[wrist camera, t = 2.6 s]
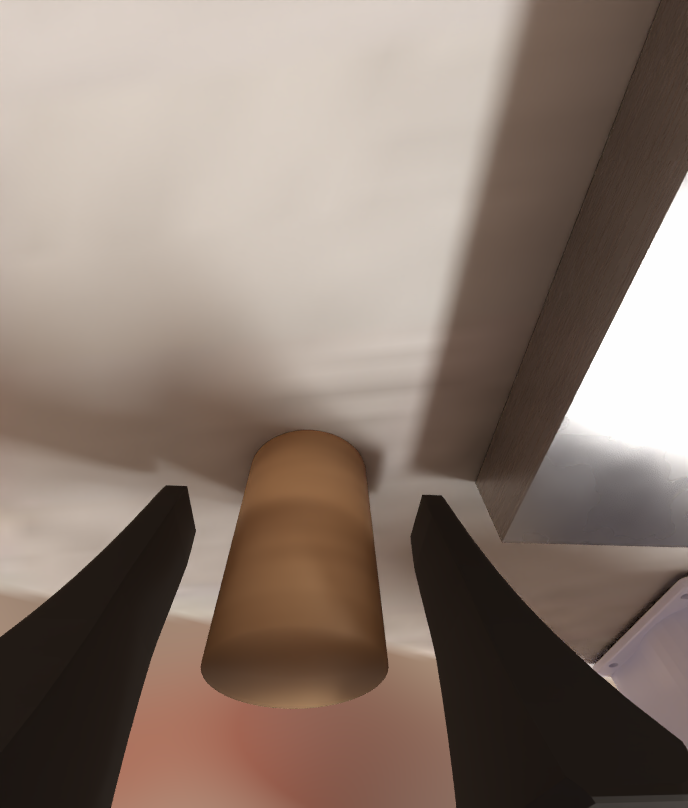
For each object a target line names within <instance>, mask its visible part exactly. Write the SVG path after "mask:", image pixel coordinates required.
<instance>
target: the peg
mask: <svg viewBox="0 0 688 808" xmlns="http://www.w3.org/2000/svg"><path fill="white" fill-rule="evenodd" d="M387 672H388V658H387V649H386V640H385V632H384V623H383V615H382V606H381V597H380V589H379V580H378V572H377V563H376V555H375V546H374V537H373V529H372V520H371V512H370V503H369V494H368V486H367V477H366V469H365V464H364V461H363V459H362V457H361V455H360V454H359V452H358V451H357V450H356V449H355V448H354V447H353V446H352V445H351V444H350V443H348V442H347V441H345V440H344V439H342V438H340V437H338V436H335V435H333V434H330V433H326V432H322V431H314V430H300V431H293V432H288V433H285V434H282V435H279V436H277V437H275V438H273V439H271V440H270V441H268V442H267V443H266V444H264V445H263V446H262V447H261V448H260V449H259V451H258V452H257V453H256V455H255V457H254V459H253V461H252V465H251V469H250V473H249V477H248V481H247V485H246V489H245V492H244V496H243V500H242V504H241V508H240V512H239V516H238V520H237V524H236V528H235V532H234V536H233V540H232V544H231V548H230V552H229V556H228V560H227V564H226V568H225V571H224V575H223V579H222V583H221V587H220V591H219V595H218V599H217V603H216V607H215V611H214V615H213V619H212V623H211V627H210V631H209V635H208V639H207V643H206V647H205V650H204V654H203V659H202V663H201V673H202V675H203V678H204V679H205V680H206V682H207V683H208V684H209V685H210V686H211V687H213V688H214V689H215V690H217V691H218V692H220V693H222V694H224V695H226V696H228V697H230V698H233V699H235V700H238V701H241V702H245V703H249V704H253V705H258V706H264V707H272V708H289V709H294V708H295V709H298V708H314V707H323V706H328V705H334V704H338V703H342V702H346V701H349V700H352V699H355V698H357V697H360V696H362V695H364V694H366V693H368V692H370V691H371V690H373V689H374V688H375V687H377V686H378V685H379V684H380V683H381V682H382V681H383V680H384V678H385V677H386V675H387Z"/></svg>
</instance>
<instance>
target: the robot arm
mask: <svg viewBox="0 0 688 808" xmlns="http://www.w3.org/2000/svg"><path fill="white" fill-rule="evenodd" d="M195 532H196V529H195V524H194V519H193V514H192V509H191V504H190V499H189V494H188V489H187V486H167V485H166V486H165V487H164V488H163V489H162V490H161V491H160V492H159V493H158V494H157V495H156V496H155V497H154V498H153V499H152V500H151V501H150V503H149V504H148V505H147V506H146V507H145V508H144V509H143V510H142V511H141V512H140V513H139V514H138V515H137V516H136V517H135V518H134V520H133V521H132V522H131V523H130V524H129V525H128V526H127V527H126V528H125V529H124V530H123V531H122V532H121V533H120V534H119V535H118V536H117V537H116V538H115V539H114V540H113V541H112V542H111V543H110V544H109V545H108V546H107V547H106V548H105V549H104V550H103V551H102V552H101V553H100V554H99V555H97V556H96V557H95V558H94V559H93V560H92V561H91V562H90V563H89V564H88V565H87V566H86V567H85V568H83V569H82V570H81V571H80V572H79V573H78V574H77V575H76V576H75V577H74V578H73V579H71V580H70V581H69V582H68V583H67V584H66V585H65V586H63V587H62V588H61V589H60V590H59V591H58V592H56V593H55V594H54V595H53V596H52V597H51V598H49V599H48V600H47V601H46V602H44V603H43V604H42V605H41V606H40V607H38V608H37V609H36V610H35V611H33V612H32V613H31V614H30V615H28V616H27V617H26V618H24V619H23V620H22V621H21V622H19V623H18V624H17V625H15V626H14V627H13V628H12V629H10V630H9V631H8V632H6V633H5V634H4V635H2V636H1V637H0V808H111V805H112V801H113V797H114V792H115V788H116V785H117V781H118V777H119V773H120V769H121V765H122V761H123V757H124V753H125V750H126V746H127V742H128V738H129V734H130V731H131V727H132V723H133V720H134V716H135V713H136V709H137V705H138V702H139V698H140V695H141V691H142V688H143V684H144V681H145V678H146V674H147V671H148V668H149V664H150V661H151V657H152V655H153V652H154V649H155V646H156V643H157V640H158V638H159V636H160V633H161V630H162V628H163V625H164V623H165V620H166V618H167V615H168V613H169V610H170V608H171V605H172V602H173V600H174V597H175V595H176V592H177V590H178V587H179V584H180V582H181V579H182V577H183V574H184V571H185V569H186V566H187V563H188V559H189V556H190V552H191V548H192V544H193V540H194V536H195ZM411 545H412V554H413V561H414V568H415V573H416V577H417V581H418V585H419V589H420V594H421V598H422V602H423V606H424V610H425V614H426V618H427V622H428V626H429V630H430V634H431V638H432V642H433V646H434V651H435V656H436V660H437V666H438V673H439V679H440V685H441V692H442V698H443V705H444V712H445V719H446V726H447V733H448V740H449V748H450V756H451V765H452V772H453V781H454V790H455V799H456V808H688V576H687V577H684V578H682V579H680V580H678V581H677V582H676V583H675V584H674V585H673V586H672V587H671V588H670V589H669V590H668V591H667V592H666V593H665V594H664V595H663V596H662V597H661V598H660V599H659V600H658V601H657V602H656V603H655V604H654V605H653V606H652V607H651V608H650V609H649V610H648V611H647V612H646V613H645V614H644V615H643V616H642V617H641V618H640V619H639V620H638V621H637V622H636V623H635V624H634V625H633V626H632V627H631V628H630V629H629V630H628V631H627V632H626V633H625V634H624V635H623V636H622V637H621V638H620V639H619V640H618V641H617V642H616V643H615V644H614V646H613V647H612V648H611V649H610V650H609V651H608V652H607V653H606V654H605V655H604V656H603V657H602V658H601V659H600V660H599V661H598V662H597V663H596V664H595V665H594V666H593V669H592V668H591V667H590V666H589V665H588V664H587V663H586V662H585V661H584V660H583V659H581V658H580V657H579V656H578V655H577V654H576V653H575V652H574V651H573V650H572V649H571V648H570V647H568V646H567V645H566V644H565V643H564V642H563V641H562V640H561V639H560V638H559V637H558V636H557V635H556V634H555V633H554V632H553V631H552V630H551V629H550V628H549V627H548V626H547V625H546V624H545V623H544V622H543V621H542V620H541V619H540V618H539V617H538V616H537V615H536V614H535V613H534V612H533V611H532V610H531V609H530V608H529V607H528V606H527V605H526V604H525V602H524V601H523V600H522V599H521V598H520V597H519V596H518V595H517V594H516V592H515V591H514V590H513V589H512V588H511V587H510V585H509V584H508V583H507V582H506V581H505V580H504V578H503V577H502V576H501V575H500V574H499V572H498V571H497V570H496V569H495V567H494V566H493V565H492V564H491V562H490V561H489V560H488V559H487V557H486V556H485V555H484V553H483V552H482V551H481V550H480V548H479V547H478V546H477V544H476V543H475V542H474V540H473V539H472V538H471V536H470V535H469V534H468V532H467V531H466V529H465V528H464V527H463V525H462V524H461V522H460V521H459V519H458V518H457V517H456V515H455V514H454V512H453V511H452V509H451V508H450V506H449V505H448V504H447V502H446V501H445V499H444V498H443V497H442V496H441V495H422V498H421V502H420V505H419V509H418V512H417V516H416V519H415V523H414V526H413V530H412V533H411ZM603 677H612V679H613V681H614V683H615V684H616V687H617V688H618V690H619V691H618V690H617V689H616V688H614V687H613V686H612V685H611V684H610V683H609V682H607V681H606V680H605V679H604V678H603Z"/></svg>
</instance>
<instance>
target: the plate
mask: <svg viewBox="0 0 688 808" xmlns="http://www.w3.org/2000/svg"><path fill="white" fill-rule="evenodd" d="M476 485H477V488H478V490H479V492H480V494H481V496H482V499H483V501H484V503H485V505H486V508H487V510H488V512H489V514H490V516H491V519H492V521H493V523H494V525H495V528H496V530H497V532H498V534H499V537H500V539H501V541H502V542H507V543H544V544H581V545H618V546H655V547H688V0H661V3H660V6H659V8H658V11H657V13H656V16H655V19H654V21H653V24H652V26H651V29H650V32H649V34H648V37H647V39H646V42H645V45H644V47H643V50H642V52H641V55H640V57H639V60H638V63H637V65H636V68H635V70H634V73H633V76H632V78H631V81H630V83H629V86H628V89H627V91H626V94H625V96H624V99H623V102H622V104H621V107H620V109H619V112H618V115H617V117H616V120H615V122H614V125H613V128H612V130H611V133H610V135H609V138H608V140H607V143H606V146H605V148H604V151H603V153H602V156H601V159H600V161H599V164H598V166H597V169H596V172H595V174H594V177H593V179H592V182H591V185H590V187H589V190H588V192H587V195H586V198H585V200H584V203H583V205H582V208H581V210H580V213H579V216H578V218H577V221H576V223H575V226H574V229H573V231H572V234H571V236H570V239H569V242H568V244H567V247H566V249H565V252H564V255H563V257H562V260H561V262H560V265H559V268H558V270H557V273H556V275H555V278H554V280H553V283H552V286H551V288H550V291H549V293H548V296H547V299H546V301H545V304H544V306H543V309H542V312H541V314H540V317H539V319H538V322H537V325H536V327H535V330H534V332H533V335H532V338H531V340H530V343H529V345H528V348H527V350H526V353H525V356H524V358H523V361H522V363H521V366H520V369H519V371H518V374H517V376H516V379H515V382H514V384H513V387H512V389H511V392H510V395H509V397H508V400H507V402H506V405H505V408H504V410H503V413H502V415H501V418H500V420H499V423H498V426H497V428H496V431H495V433H494V436H493V439H492V441H491V444H490V446H489V449H488V452H487V454H486V457H485V459H484V462H483V465H482V467H481V470H480V472H479V475H478V478H477V480H476Z"/></svg>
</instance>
